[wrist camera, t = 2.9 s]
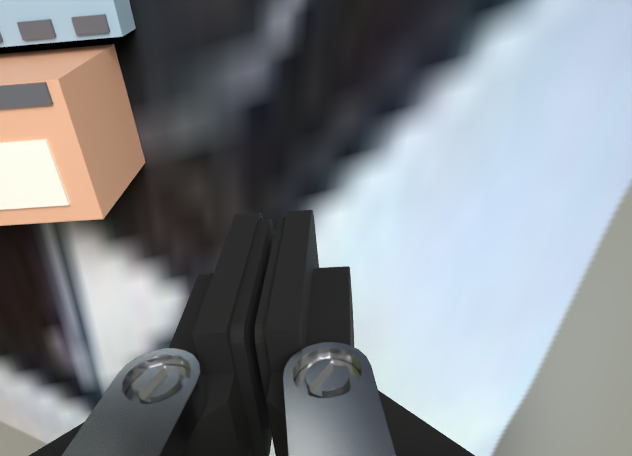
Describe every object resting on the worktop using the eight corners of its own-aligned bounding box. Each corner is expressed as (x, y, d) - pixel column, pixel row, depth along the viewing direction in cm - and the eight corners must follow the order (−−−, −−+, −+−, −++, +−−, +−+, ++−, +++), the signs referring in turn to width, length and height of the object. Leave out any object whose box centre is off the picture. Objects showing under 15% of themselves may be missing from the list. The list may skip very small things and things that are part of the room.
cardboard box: (-33, 56, 22) (-127, 95, 17) (113, 43, 21) (56, 80, 17) (13, 171, 24) (-59, 231, 20) (145, 162, 24) (102, 220, 19)
